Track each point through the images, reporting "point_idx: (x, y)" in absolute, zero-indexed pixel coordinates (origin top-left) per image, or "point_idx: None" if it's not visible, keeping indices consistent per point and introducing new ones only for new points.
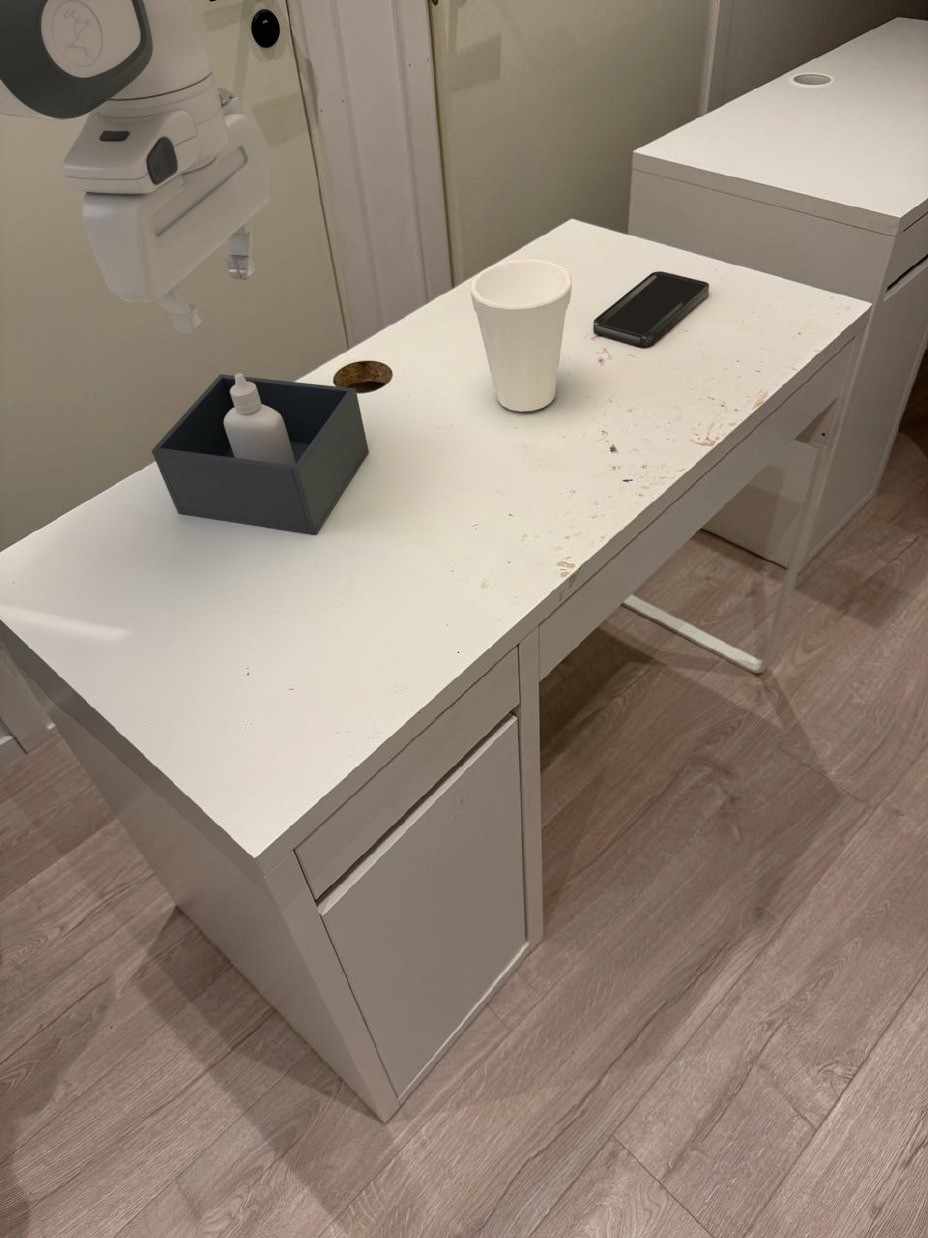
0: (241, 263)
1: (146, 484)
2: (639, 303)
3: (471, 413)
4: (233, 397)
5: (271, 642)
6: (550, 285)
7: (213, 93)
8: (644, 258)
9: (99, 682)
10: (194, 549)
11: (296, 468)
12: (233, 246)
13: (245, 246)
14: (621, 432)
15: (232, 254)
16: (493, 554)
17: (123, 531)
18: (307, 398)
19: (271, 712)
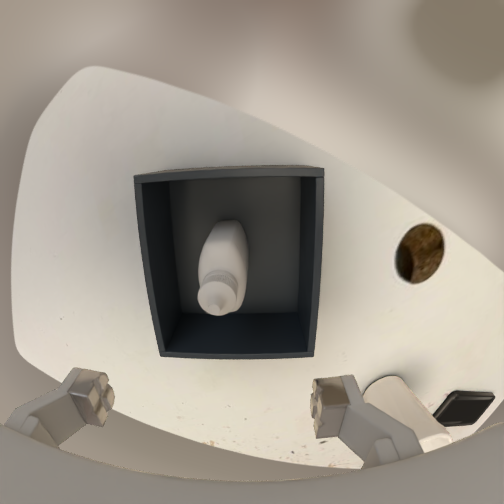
0: (316, 427)
1: (199, 105)
2: (468, 405)
3: (364, 366)
4: (199, 289)
5: (82, 323)
6: (428, 451)
7: None
8: None
9: (20, 230)
10: (127, 217)
11: (161, 355)
12: (358, 425)
13: (352, 445)
14: (340, 440)
15: (346, 410)
16: (206, 417)
17: (129, 132)
18: (308, 294)
19: (53, 339)
